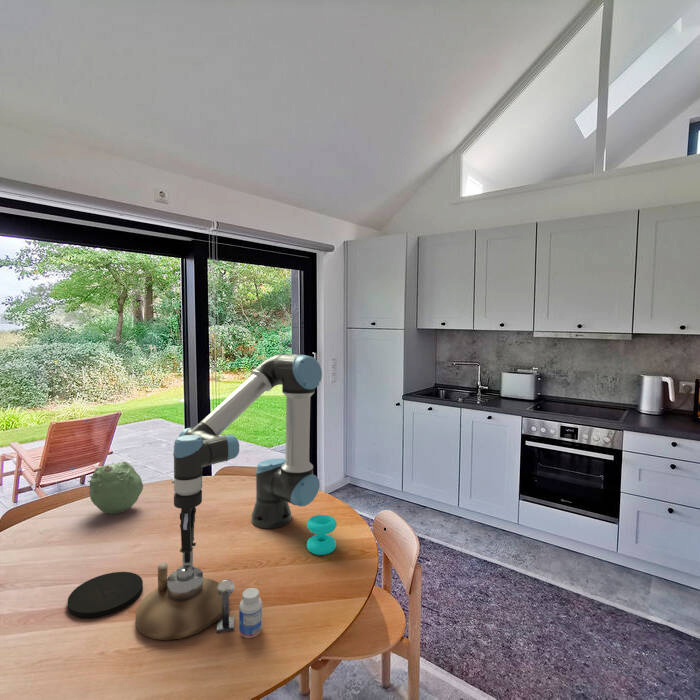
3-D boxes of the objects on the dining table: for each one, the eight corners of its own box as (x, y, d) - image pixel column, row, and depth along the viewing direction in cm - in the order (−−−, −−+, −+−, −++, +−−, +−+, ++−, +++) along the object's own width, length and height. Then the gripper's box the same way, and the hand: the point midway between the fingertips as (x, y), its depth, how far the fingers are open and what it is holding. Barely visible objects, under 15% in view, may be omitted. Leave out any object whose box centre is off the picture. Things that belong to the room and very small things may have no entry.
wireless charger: (95, 577, 124) (95, 570, 124) (154, 579, 124) (154, 572, 124) (50, 618, 107) (50, 611, 107) (119, 621, 106) (119, 614, 106)
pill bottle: (241, 623, 106) (241, 585, 105) (263, 622, 106) (263, 585, 106) (237, 639, 100) (237, 600, 100) (260, 638, 101) (260, 599, 100)
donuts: (300, 519, 141) (322, 510, 149) (300, 548, 142) (322, 538, 149) (321, 529, 135) (342, 519, 142) (320, 560, 135) (342, 548, 143)
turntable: (228, 578, 123) (228, 551, 123) (225, 631, 102) (225, 598, 101) (146, 588, 118) (146, 560, 117) (125, 646, 96) (124, 612, 96)
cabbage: (150, 509, 169) (150, 461, 168) (99, 526, 154) (98, 473, 153) (132, 499, 179) (131, 453, 178) (82, 514, 164) (81, 464, 163)
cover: (204, 579, 120) (204, 558, 120) (201, 598, 111) (201, 577, 111) (170, 583, 118) (170, 562, 117) (164, 603, 109) (164, 581, 109)
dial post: (234, 619, 107) (234, 574, 107) (233, 630, 103) (234, 583, 103) (217, 621, 106) (217, 576, 106) (216, 633, 102) (216, 586, 102)
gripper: (177, 483, 125) (177, 560, 127) (169, 500, 113) (169, 586, 114) (204, 481, 127) (203, 557, 128) (199, 498, 115) (199, 582, 116)
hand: (187, 570), depth 121 cm, fingers closed
